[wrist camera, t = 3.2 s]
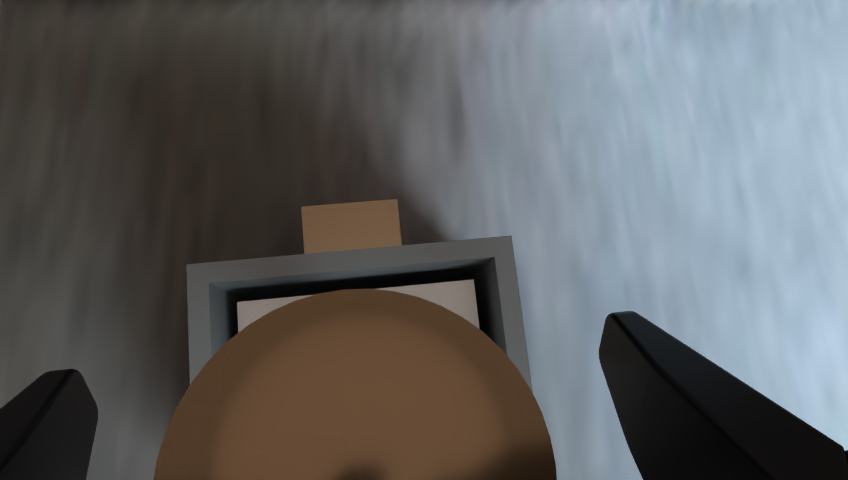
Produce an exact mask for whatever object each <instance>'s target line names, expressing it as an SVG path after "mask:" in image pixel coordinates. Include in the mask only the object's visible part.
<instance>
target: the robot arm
mask: <svg viewBox="0 0 848 480" xmlns="http://www.w3.org/2000/svg"><path fill="white" fill-rule="evenodd" d="M599 359H600V363H601V366H602V369H603V372H604V375H605V378H606V381H607V385H608V388H609V391H610V394H611V397H612V400H613V403H614V406H615V409H616V412H617V415H618V418H619V421H620V424H621V427H622V430H623V433H624V435H625V438H626V441H627V444H628V447H629V449H630V451H631V454H632V456H633V458H634V461H635V463H636V465H637V467H638V469H639V471H640V474H641V476H642V478H643V480H848V450H846V451H844V448H843V447H842V446H841V445H840V444H838V443H837V442H835V441H833V440H832V439H830V438H829V437H827V436H826V435H824V434H823V433H821V432H820V431H818V430H817V429H815V428H813V427H812V426H810V425H809V424H807V423H806V422H804V421H803V420H801V419H800V418H798V417H796V416H795V415H793V414H792V413H790V412H789V411H787V410H786V409H784V408H783V407H781V406H779V405H778V404H776V403H775V402H773V401H772V400H770V399H769V398H767V397H766V396H764V395H763V394H761V393H759V392H758V391H756V390H755V389H753V388H752V387H750V386H749V385H747V384H746V383H744V382H742V381H741V380H739V379H738V378H736V377H735V376H733V375H732V374H730V373H729V372H727V371H725V370H724V369H722V368H721V367H719V366H718V365H716V364H715V363H713V362H712V361H710V360H709V359H707V358H705V357H704V356H702V355H701V354H699V353H698V352H696V351H695V350H693V349H692V348H690V347H688V346H687V345H685V344H684V343H682V342H681V341H679V340H678V339H676V338H675V337H673V336H671V335H670V334H668V333H667V332H665V331H664V330H662V329H661V328H659V327H658V326H656V325H654V324H653V323H651V322H650V321H648V320H647V319H645V318H644V317H642V316H641V315H639V314H637V313H636V312H633V311H625V312H615V313H611V314H609V315H608V316H607V317H606V320H605V324H604V329H603V334H602V338H601V343H600V347H599ZM97 421H98V409H97V405H96V402H95V400H94V398H93V396H92V394H91V392H90V390H89V388H88V386H87V384H86V382H85V380H84V378H83V376H82V375H81V373H80V372H79V371H78V370H76V369H65V370H56V371H49V372H46V373H44V374H43V375H41V376H40V377H39V378H37V379H36V380H35V381H34V382H33V383H31V384H30V385H29V386H28V387H26V388H25V389H24V390H23V391H22V392H20V393H19V394H18V395H17V396H15V397H14V398H13V399H12V400H10V401H9V402H8V403H7V404H6V405H4V406H3V407H2V408H1V409H0V480H86V476H87V471H88V466H89V461H90V456H91V451H92V446H93V441H94V436H95V431H96V426H97Z"/></svg>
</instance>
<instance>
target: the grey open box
mask: <svg viewBox="0 0 848 480" xmlns="http://www.w3.org/2000/svg"><path fill="white" fill-rule="evenodd" d="M301 211H302V226H303V240H304V254H298V255H287V256H275V257H264V258H253V259H241V260H230V261H219V262H207V263H196V264H186V270H187V303H188V337H189V371H190V384H191V382H192V381H193V380H194V378H195V377H196V376H197V375H198V373H199V372H200V371H201V369H202V368H203V367H204V366H205V364H206V363H207V362H208V360H209V359H210V358H211V357H212V356H213V355H214V354H215V353H216V352H217V351H218V350H219V349H220V348H221V347H222V346H223V345H224V344H225V343H226V342H227V341H229V340H230V339H231V338H232V337H234V336H235V335H236V334H238V312H237V302H243V301H253V300H264V299H274V298H285V297H295V296H306V295H316V294H319V293H326V292H332V291H338V290H344V289H379V288H389V287H400V286H410V285H421V284H431V283H442V282H452V281H463V280H473V279H474V287H475V295H476V303H477V312H478V320H479V328H480V330H481V331H483V332H484V333H485V334H486V335H487V336H488V337H489V338H490V339H491V340H492V341H493V342H494V343H496V344H497V345H498V346H499V347H500V348H501V349H502V350H503V352H504V353H505V354H506V355H507V356H508V358H509V359H510V360H511V361H512V362H513V364H514V365H515V366H516V367H517V369H518V370H519V372H520V373H521V375H522V377H523V378H524V380H525V381H526V383H527V384H528V386H529V387H530V389H531V391H532V384H531V377H530V369H529V362H528V354H527V347H526V340H525V332H524V325H523V318H522V310H521V303H520V295H519V288H518V281H517V273H516V266H515V259H514V251H513V244H512V236H502V237H491V238H479V239H468V240H457V241H445V242H434V243H423V244H411V245H402V242H401V232H400V222H399V212H398V202H397V199H390V200H377V201H365V202H352V203H340V204H327V205H315V206H302V207H301ZM532 393H533V391H532Z"/></svg>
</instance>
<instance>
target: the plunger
mask: <svg viewBox="0 0 848 480" xmlns="http://www.w3.org/2000/svg"><path fill="white" fill-rule="evenodd" d="M237 312H238V334H236V335H235V336H234V337H232V338H231V339H230V340H229V341H227V342H226V343H225V344H224V345H223V346H222V347H221V348H220V349H219V350H218V351H217V352H216V353H215V354H214V355H213V356H212V357H211V358H210V359H209V360H208V362H207V363H206V364H205V366H204V367H203V368H202V369H201V371H200V372H199V373H198V375H197V376H196V377H195V378H194V380H193V381H192V382H191V384H190V386H189V387H188V389H187V391H186V392H185V394H184V396H183V397H182V399H181V401H180V402H179V404H178V406H177V408H176V410H175V412H174V414H173V417H172V419H171V421H170V423H169V426H168V428H167V430H166V433H165V436H164V439H163V442H162V446H161V449H160V452H159V455H158V459H157V464H156V470H155V475H154V480H557V478H556V465H555V459H554V454H553V449H552V445H551V440H550V436H549V433H548V430H547V427H546V424H545V421H544V418H543V415H542V412H541V410H540V408H539V406H538V404H537V402H536V399H535V397H534V395H533V393H532V391H531V389H530V387H529V386H528V384H527V383H526V381H525V380H524V378H523V377H522V375H521V373H520V372H519V370H518V369H517V367H516V366H515V365H514V364H513V362H512V361H511V360H510V359H509V358H508V356H507V355H506V354H505V353H504V352H503V350H502V349H501V348H500V347H499V346H498V345H497V344H496V343H494V342H493V341H492V340H491V339H490V338H489V337H488V336H487V335H486V334H485V333H484V332H483V331H481V330H480V328H479V320H478V312H477V303H476V295H475V287H474V279H473V280H463V281H452V282H442V283H431V284H421V285H410V286H400V287H389V288H379V289H344V290H338V291H332V292H326V293H319V294H316V295H306V296H295V297H285V298H274V299H264V300H253V301H243V302H237Z"/></svg>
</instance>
